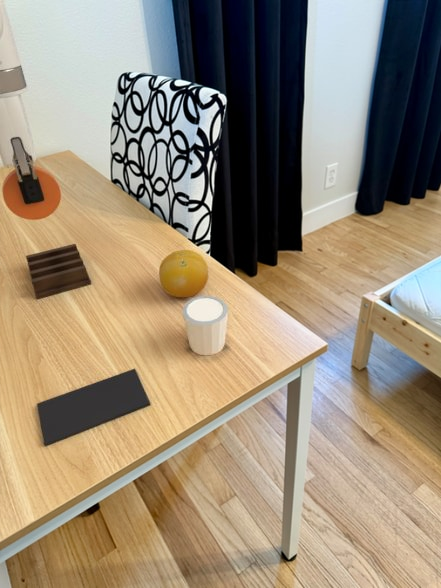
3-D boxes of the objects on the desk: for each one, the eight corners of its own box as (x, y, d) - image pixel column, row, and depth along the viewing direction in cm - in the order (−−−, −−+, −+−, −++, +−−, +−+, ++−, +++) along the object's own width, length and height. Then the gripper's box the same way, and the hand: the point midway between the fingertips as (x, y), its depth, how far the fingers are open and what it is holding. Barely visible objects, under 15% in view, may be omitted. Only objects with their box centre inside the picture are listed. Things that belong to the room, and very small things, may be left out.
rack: (36, 299, 78) (31, 284, 76) (29, 269, 86) (24, 254, 84) (91, 284, 81) (87, 269, 79) (79, 256, 89) (75, 241, 87)
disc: (12, 225, 73) (-6, 174, 68) (12, 221, 75) (-6, 171, 69) (66, 213, 76) (53, 164, 71) (64, 210, 78) (51, 161, 72)
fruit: (167, 310, 75) (162, 272, 70) (157, 284, 81) (151, 248, 76) (215, 298, 77) (213, 261, 72) (201, 274, 83) (199, 238, 78)
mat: (45, 446, 54) (44, 443, 54) (37, 406, 59) (36, 403, 59) (150, 405, 59) (150, 402, 59) (135, 371, 64) (134, 368, 64)
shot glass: (177, 349, 67) (173, 315, 63) (199, 323, 72) (196, 290, 68) (216, 364, 65) (214, 330, 60) (236, 335, 69) (235, 302, 65)
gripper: (-32, 75, 67) (7, 187, 78) (-30, 96, 55) (15, 223, 66) (19, 70, 69) (49, 179, 80) (31, 89, 58) (64, 213, 69)
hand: (33, 198), depth 73 cm, fingers closed on disc, 1 cm apart
